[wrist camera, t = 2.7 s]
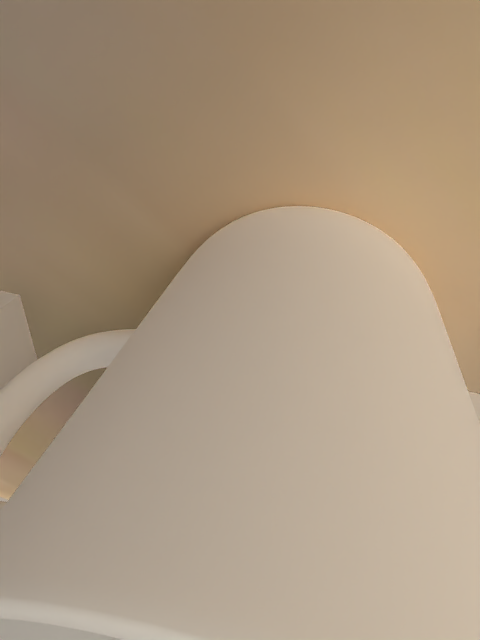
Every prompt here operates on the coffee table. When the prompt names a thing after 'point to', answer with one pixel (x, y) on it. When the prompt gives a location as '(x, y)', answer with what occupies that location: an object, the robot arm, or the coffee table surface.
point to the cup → (255, 455)
